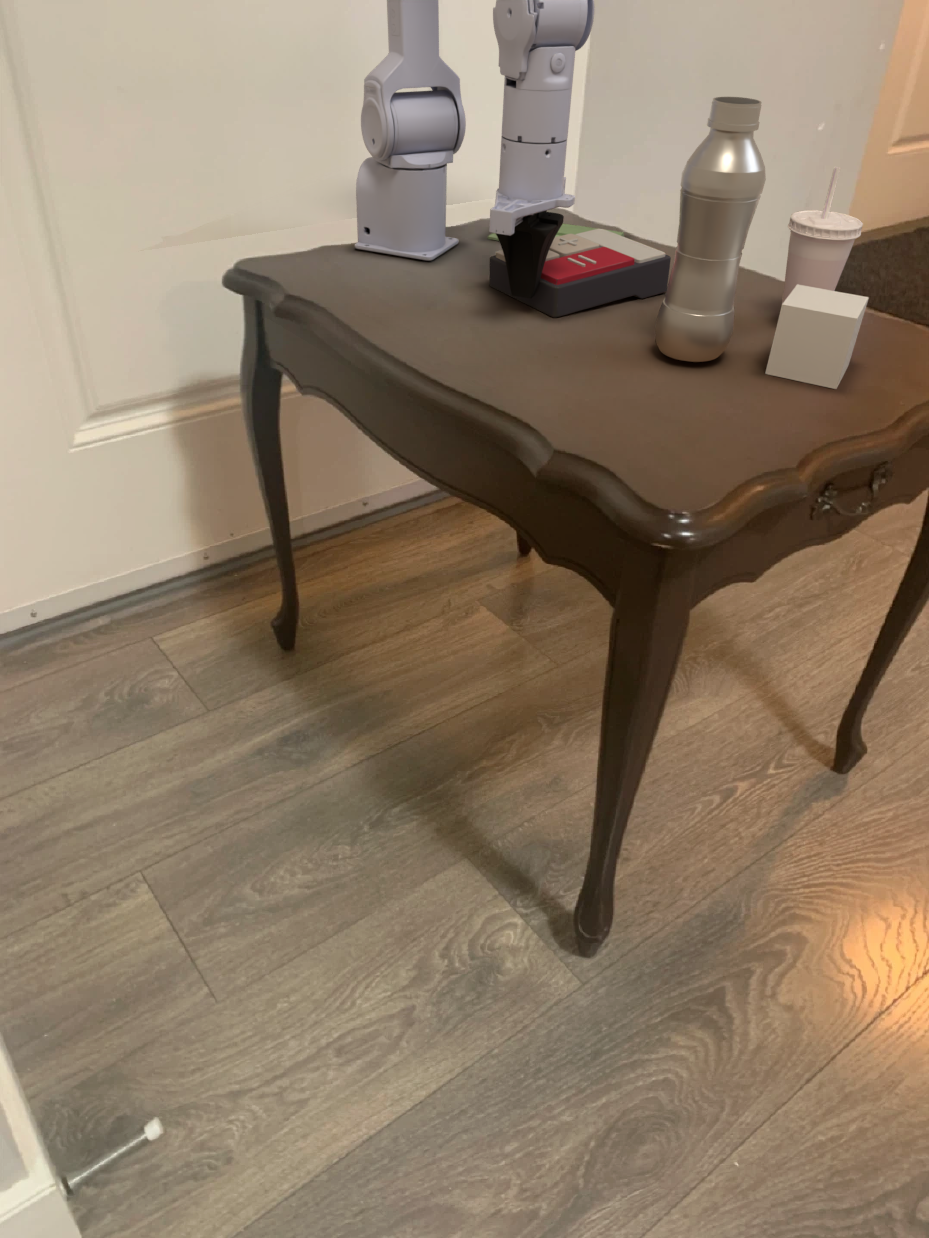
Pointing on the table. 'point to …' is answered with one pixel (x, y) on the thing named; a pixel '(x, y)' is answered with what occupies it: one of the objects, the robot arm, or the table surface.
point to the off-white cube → (816, 335)
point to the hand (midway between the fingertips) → (523, 295)
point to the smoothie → (819, 245)
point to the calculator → (590, 272)
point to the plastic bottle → (712, 233)
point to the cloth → (566, 231)
